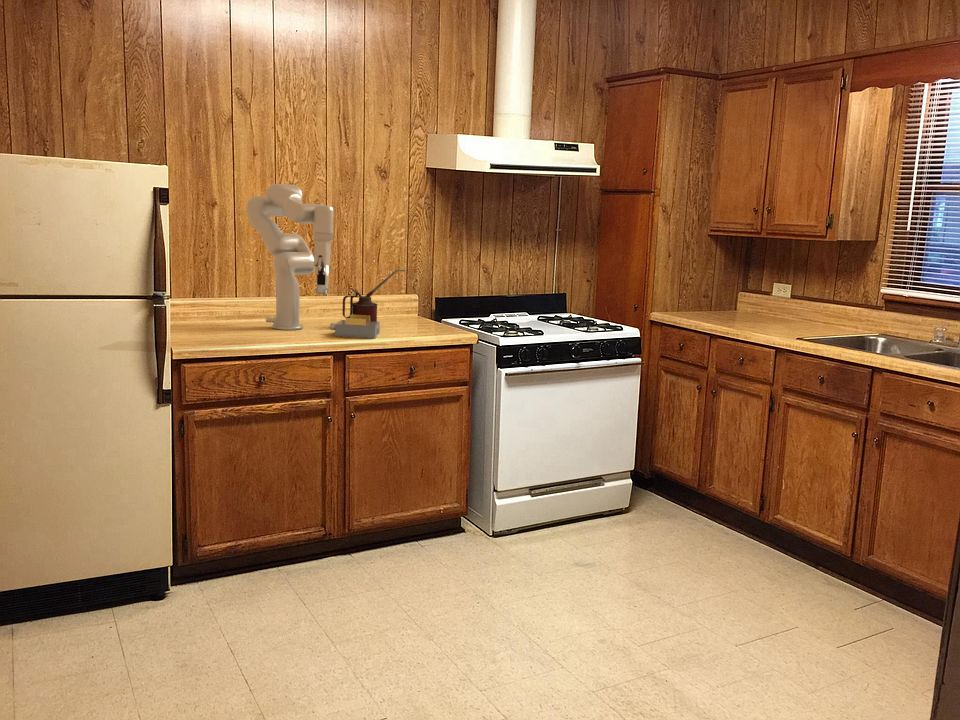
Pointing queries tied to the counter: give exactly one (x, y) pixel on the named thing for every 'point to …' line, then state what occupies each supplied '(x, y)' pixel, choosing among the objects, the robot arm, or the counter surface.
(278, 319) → the robot arm
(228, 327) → the counter surface
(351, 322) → the gearbox
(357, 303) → the oil can
